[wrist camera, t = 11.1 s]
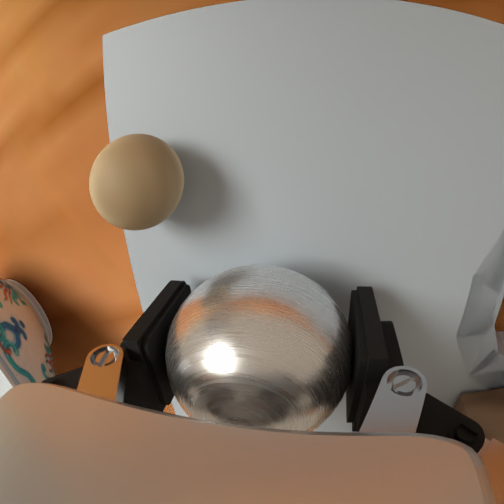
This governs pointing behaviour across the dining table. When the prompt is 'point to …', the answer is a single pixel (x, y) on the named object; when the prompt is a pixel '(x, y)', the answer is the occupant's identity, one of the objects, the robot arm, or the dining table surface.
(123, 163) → the ball
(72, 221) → the dining table surface
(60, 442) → the robot arm
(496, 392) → the walnut cover
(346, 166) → the hole board
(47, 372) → the chinaware
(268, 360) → the steel boule
